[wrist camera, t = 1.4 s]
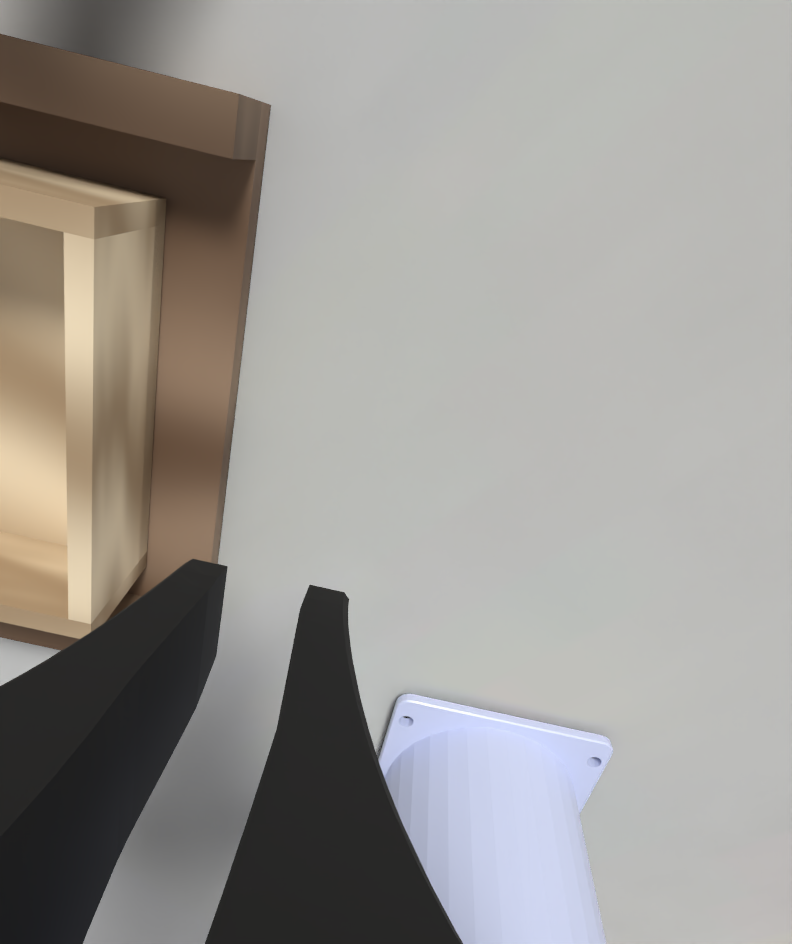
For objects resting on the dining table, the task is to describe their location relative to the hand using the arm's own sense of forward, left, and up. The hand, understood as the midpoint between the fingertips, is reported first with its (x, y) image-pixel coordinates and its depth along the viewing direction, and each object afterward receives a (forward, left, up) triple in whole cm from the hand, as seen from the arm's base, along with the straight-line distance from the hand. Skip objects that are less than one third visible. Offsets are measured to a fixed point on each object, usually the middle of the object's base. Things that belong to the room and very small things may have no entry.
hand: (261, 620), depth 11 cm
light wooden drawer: (0, +9, -8) cm, 12 cm away
